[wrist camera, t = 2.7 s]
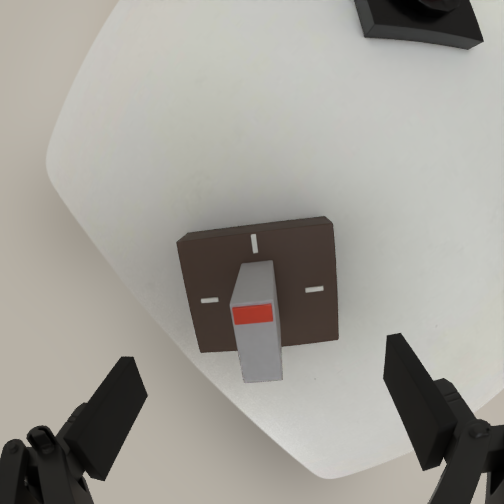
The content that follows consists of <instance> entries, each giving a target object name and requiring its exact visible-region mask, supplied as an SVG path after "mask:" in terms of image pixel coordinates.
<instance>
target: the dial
mask: <svg viewBox="0 0 504 504" xmlns="http://www.w3.org/2000/svg"><path fill="white" fill-rule="evenodd" d="M230 310H231V316H232V322H233V327H234V333H235V338H236V344H237V349H238V354H239V360H240V365H241V370H242V375H243V380H244V383H253V382H266V381H278V380H282V379H283V371H282V349H281V329H280V317H279V309H278V300H277V291H276V283H275V274H274V266H273V260H269V261H260V262H251V263H242V264H241V267H240V271H239V274H238V278H237V281H236V284H235V288H234V291H233V294H232V298H231V301H230Z"/></svg>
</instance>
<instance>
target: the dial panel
mask: <svg viewBox="0 0 504 504" xmlns="http://www.w3.org/2000/svg"><path fill="white" fill-rule="evenodd" d="M177 248H178V254H179V259H180V264H181V269H182V274H183V279H184V283H185V288H186V293H187V298H188V302H189V307H190V311H191V315H192V320H193V324H194V328H195V333H196V337H197V341H198V345H199V349H200V352H201V353H205V352H223V351H238V349H237V344H236V338H235V333H234V327H233V322H232V316H231V310H230V301H231V298H232V294H233V291H234V288H235V284H236V281H237V278H238V274H239V271H240V267H241V264H242V263H251V262H260V261H269V260H273V266H274V274H275V283H276V291H277V300H278V309H279V317H280V329H281V347H283V346H293V345H301V344H310V343H318V342H325V341H333V340H338V339H339V334H338V298H337V276H336V258H335V243H334V230H333V223H332V222H331V221H330V220H328V219H327V218H326V217H325V216H323V217H314V218H305V219H296V220H287V221H279V222H270V223H262V224H254V225H246V226H238V227H230V228H222V229H214V230H207V231H199V232H192V233H187V234H186V235H185V236H183V237H182V238H181V239H180V240H179V241H177Z"/></svg>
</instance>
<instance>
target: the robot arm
mask: <svg viewBox="0 0 504 504" xmlns="http://www.w3.org/2000/svg"><path fill="white" fill-rule="evenodd" d="M383 379H384V382H385V384H386V386H387V388H388V390H389V392H390V395H391V397H392V399H393V401H394V404H395V406H396V408H397V410H398V413H399V415H400V417H401V419H402V422H403V424H404V426H405V429H406V431H407V433H408V436H409V438H410V441H411V443H412V445H413V448H414V450H415V452H416V455H417V458H418V460H419V462H420V465H421V468H422V470H423V471H425V470H428V469H431V468H434V467H437V466H440V464H441V462H442V460H443V457H444V459H445V461H446V463H447V465H446V467H445V469H444V471H443V473H442V475H441V478H440V480H439V482H438V484H437V486H436V488H435V491H434V493H433V494H432V496H431V499H430V500H429V502H428V504H470V503H471V500H472V498H473V495H474V492H475V490H476V487H477V484H478V481H479V478H480V475H481V473H487V485H486V499H485V504H504V425H498V426H491V425H490V424H489V423H488V422H487V421H484V420H481V419H476V417H475V416H474V414H473V413H472V411H471V410H470V408H469V407H468V405H467V404H466V402H465V401H464V400H463V398H461V395H460V394H459V392H457V389H456V388H455V387H454V385H453V384H452V383H451V382H449V381H448V380H446V379H445V378H442V379H439V380H435V381H433V380H432V378H431V377H430V375H429V374H428V372H427V371H426V369H425V368H424V366H423V365H422V363H421V362H420V360H419V359H418V357H417V356H416V354H415V353H414V351H413V350H412V348H411V347H410V346H409V344H408V343H407V341H406V340H405V338H404V337H403V336H402V334H401V333H398V334H392V335H387V341H386V354H385V365H384V375H383ZM147 396H148V395H147V392H146V390H145V387H144V385H143V382H142V379H141V377H140V374H139V371H138V368H137V366H136V363H135V360H134V357H121V358H120V359H119V360H118V362H117V363H116V364H115V366H114V367H113V368H112V370H111V371H110V372H109V374H108V375H107V377H106V378H105V379H104V381H103V382H102V383H101V385H100V386H99V387H98V389H97V390H96V392H95V393H94V394H93V396H92V397H91V399H90V400H89V401H88V403H83V404H81V405H80V406H78V407H77V408H76V409H75V411H74V412H73V413H72V414H71V416H70V417H69V418H68V420H67V422H66V423H65V424H64V425H63V427H62V428H61V430H60V431H59V432H58V434H57V435H56V436H54V435H53V433H52V431H51V430H50V428H48V427H47V426H43V425H42V426H37V427H34V428H33V429H31V430H30V431H29V433H28V434H27V440H28V442H29V443H30V444H31V446H32V447H26V446H25V445H24V443H23V442H22V441H21V440H19V439H13V440H10V441H8V442H7V443H6V444H5V446H4V447H3V450H2V454H1V458H0V504H94V502H93V500H92V497H91V495H90V492H89V489H88V486H87V483H86V480H85V478H84V477H83V476H82V475H83V473H84V471H86V472H87V473H88V475H89V476H90V477H91V478H94V479H97V480H101V481H105V479H106V477H107V475H108V473H109V471H110V469H111V467H112V465H113V463H114V461H115V459H116V457H117V455H118V453H119V451H120V449H121V447H122V445H123V443H124V441H125V439H126V437H127V435H128V433H129V431H130V429H131V427H132V425H133V423H134V421H135V420H136V418H137V416H138V414H139V412H140V410H141V408H142V406H143V404H144V402H145V400H146V398H147Z"/></svg>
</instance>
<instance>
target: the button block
mask: <svg viewBox="0 0 504 504" xmlns="http://www.w3.org/2000/svg"><path fill="white" fill-rule="evenodd" d="M354 1H355V4H356V7H357V11H358V14H359V18H360V21H361V25H362V29H363V32H364V36H365V37H370V38H387V39H399V40H410V41H418V42H426V43H433V44H440V45H446V46H452V47H457V48H462V49H467V50H468V49H470V48H472V47H474V46H476V45H478V44H480V43H482V42H484V40H483V37H482V34H481V31H480V28H479V25H478V22H477V19H476V16H475V14H474V11H473V8H472V6H471V3H470V1H469V0H354Z"/></svg>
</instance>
